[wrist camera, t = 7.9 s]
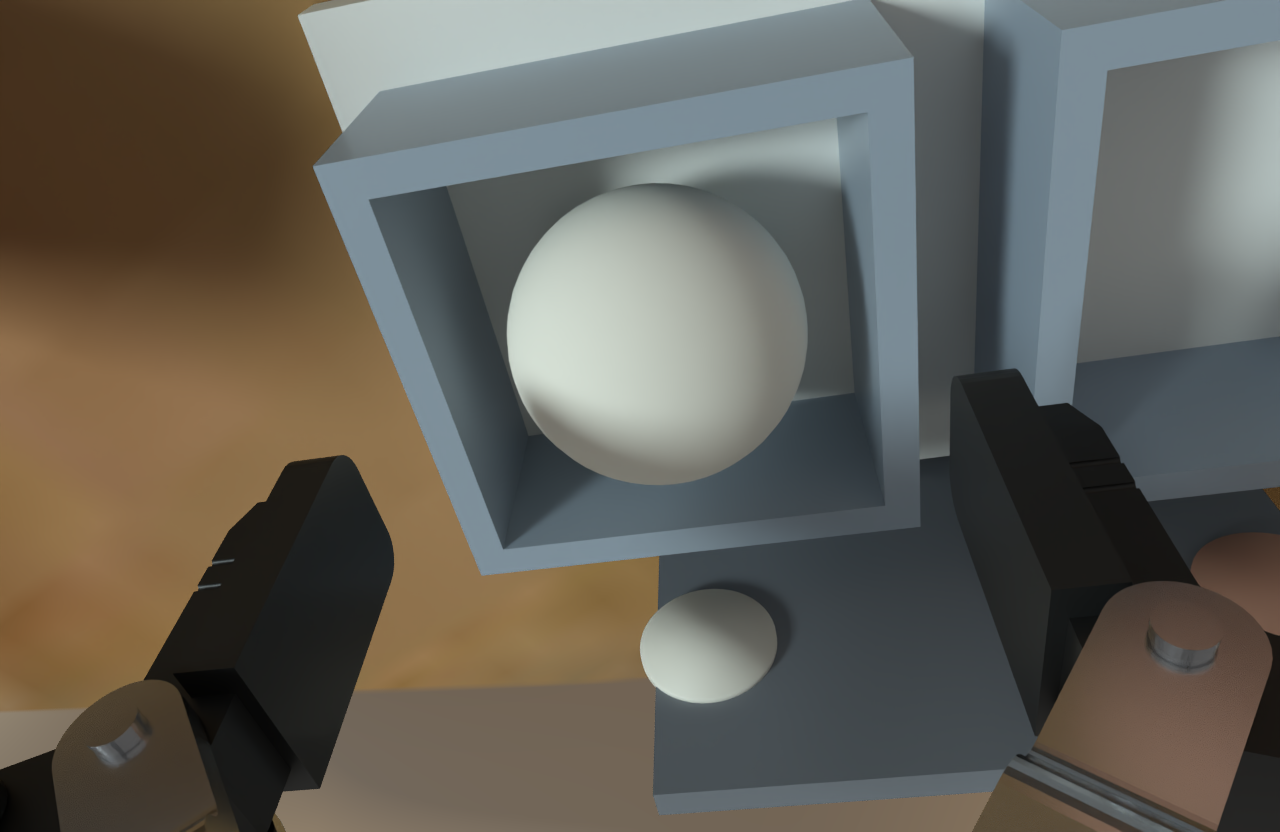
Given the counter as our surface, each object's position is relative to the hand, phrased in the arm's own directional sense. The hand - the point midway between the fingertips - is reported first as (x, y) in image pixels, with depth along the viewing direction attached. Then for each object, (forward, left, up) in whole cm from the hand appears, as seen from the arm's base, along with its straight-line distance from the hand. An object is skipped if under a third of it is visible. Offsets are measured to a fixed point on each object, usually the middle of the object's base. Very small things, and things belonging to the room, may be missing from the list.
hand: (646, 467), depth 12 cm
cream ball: (0, 0, -4) cm, 4 cm away
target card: (+6, +5, -7) cm, 11 cm away
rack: (0, +5, -7) cm, 9 cm away
